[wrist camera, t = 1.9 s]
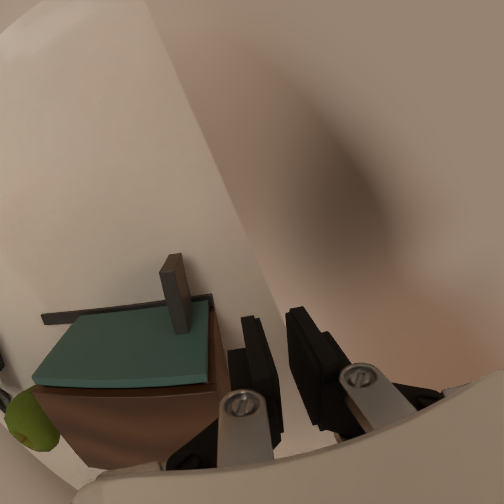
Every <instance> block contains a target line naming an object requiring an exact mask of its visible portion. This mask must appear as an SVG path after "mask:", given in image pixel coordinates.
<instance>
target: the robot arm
mask: <svg viewBox="0 0 504 504" xmlns="http://www.w3.org/2000/svg"><path fill="white" fill-rule="evenodd" d="M285 317H286V329H287V342H288V355H289V366H290V370H291V373H292V375H293V378H294V380H295V383H296V385H297V388H298V390H299V393H300V395H301V398H302V400H303V403H304V405H305V408H306V410H307V413H308V415H309V418H310V420H311V423H312V425H318V427H319V429H320V432H321V431H324V430H329V431H332V432H334V437H335V439H336V441H337V443H338V444H334V445H331V446H328V447H324V448H321V449H317V450H313V451H310V452H306V453H302V454H297V455H293V456H289V457H284V458H279V459H274V454H273V450H274V449H275V447H276V446H277V445H278V444H279V443H280V442H281V433H284V427H283V417H282V406H281V396H280V386H279V378H278V374H277V370H276V367H275V364H274V361H273V358H272V355H271V352H270V349H269V346H268V342H267V339H266V336H265V333H264V330H263V327H262V324H261V321H260V318H254V315H252V316H246V317H241V323H242V329H243V335H244V341H245V347H246V348H241V349H234V350H228V351H227V355H228V365H229V376H230V385H231V392H230V393H228V394H227V395H225V396H224V397H223V398H222V400H221V401H220V405H219V417H218V418H217V419H216V420H215V421H213V422H212V423H211V424H210V425H209V426H207V427H206V428H205V429H204V430H203V431H201V432H200V433H199V434H198V435H196V436H195V437H194V438H193V439H191V440H190V441H189V442H188V443H186V444H185V445H184V446H182V447H181V448H180V449H178V450H177V451H176V452H175V453H173V454H172V455H171V456H170V457H169V458H168V460H167V461H166V462H162V463H160V462H159V461H158V460H157V461H153V462H149V463H145V464H140V465H135V466H130V467H125V468H119V469H114V470H108V471H105V472H102V473H101V474H100V475H98V476H97V478H96V480H95V481H93V482H90V483H88V484H87V485H85V486H83V487H82V488H81V489H80V490H79V491H78V492H77V494H76V495H75V497H74V499H73V500H72V503H71V504H504V369H501V370H498V371H495V372H493V373H490V374H487V375H485V376H483V377H481V378H479V379H477V380H475V381H474V382H471V383H468V384H464V385H461V386H456V387H452V388H448V389H444V390H442V391H441V393H439V392H437V391H435V390H431V389H425V388H419V387H413V386H407V385H402V384H397V383H392V382H390V381H389V380H388V379H387V378H386V377H385V376H384V375H383V373H382V372H381V371H380V370H379V369H377V368H376V367H375V366H373V365H371V364H367V363H354V364H351V362H350V361H349V359H348V358H347V357H346V355H345V354H344V352H343V351H342V350H341V348H340V347H339V345H338V344H337V343H336V341H335V340H334V338H333V337H332V336H331V334H330V333H329V332H328V331H326V332H322V333H321V332H320V331H319V329H318V328H317V326H316V325H315V323H314V322H313V320H312V319H311V317H310V316H309V314H308V313H307V311H306V310H305V308H304V307H303V306H301V307H297V308H291V309H290V311H289V312H288V313H286V314H285Z"/></svg>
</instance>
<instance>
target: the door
mask: <svg viewBox="0 0 504 504" xmlns="http://www.w3.org/2000/svg"><path fill="white" fill-rule="evenodd" d="M159 275H160V279H161V283H162V287H163V291H164V295H165V299H166V303H167V306H161V307H153V308H145V309H137V310H129V311H120V312H111V313H101V314H91V315H81V316H79V317H78V318H77V319H76V320H75V322H74V323H73V324H72V325H71V326H70V328H69V329H68V330H67V331H66V333H65V334H64V335H63V336H62V337H61V339H60V340H59V341H58V342H57V344H56V345H55V346H54V348H53V349H52V350H51V351H50V353H49V354H48V355H47V357H46V358H45V359H44V361H43V362H42V363H41V365H40V366H39V367H38V369H37V370H36V371H35V373H34V374H33V375H32V379H33V381H34V382H35V384H38V385H49V386H63V387H83V388H135V387H156V386H171V385H183V384H193V383H202V382H208V317H209V305H208V301H207V300H205V301H198V302H192V301H191V296H190V292H189V287H188V283H187V278H186V273H185V268H184V263H183V258H182V253H177V254H171V255H169V256H168V258H167V259H166V261H165V263H164V265H163V267H162V268H161V270H160V272H159Z"/></svg>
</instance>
